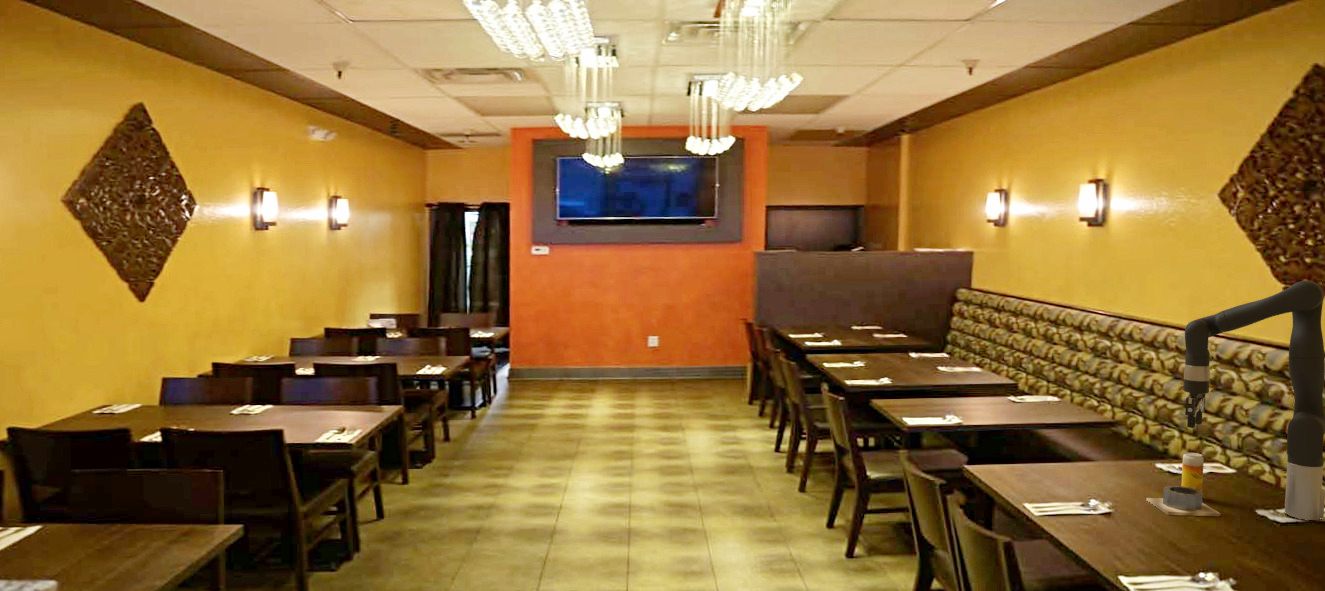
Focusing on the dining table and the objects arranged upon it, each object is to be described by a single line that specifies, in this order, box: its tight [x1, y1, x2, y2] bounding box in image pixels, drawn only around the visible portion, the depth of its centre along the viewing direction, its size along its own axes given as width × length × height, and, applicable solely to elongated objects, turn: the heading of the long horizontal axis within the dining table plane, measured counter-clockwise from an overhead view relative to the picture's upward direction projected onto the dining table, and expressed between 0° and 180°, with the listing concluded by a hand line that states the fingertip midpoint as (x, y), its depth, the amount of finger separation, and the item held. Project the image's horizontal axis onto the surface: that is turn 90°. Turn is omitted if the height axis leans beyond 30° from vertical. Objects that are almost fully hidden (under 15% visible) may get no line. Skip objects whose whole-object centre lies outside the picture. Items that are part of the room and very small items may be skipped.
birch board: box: [1146, 497, 1221, 517], centre depth 290 cm, size 16×15×1 cm
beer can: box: [1181, 452, 1205, 492], centre depth 302 cm, size 6×6×15 cm
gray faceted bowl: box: [1162, 485, 1204, 511], centre depth 290 cm, size 11×11×5 cm
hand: (1194, 425), depth 300 cm, fingers open, 8 cm apart
